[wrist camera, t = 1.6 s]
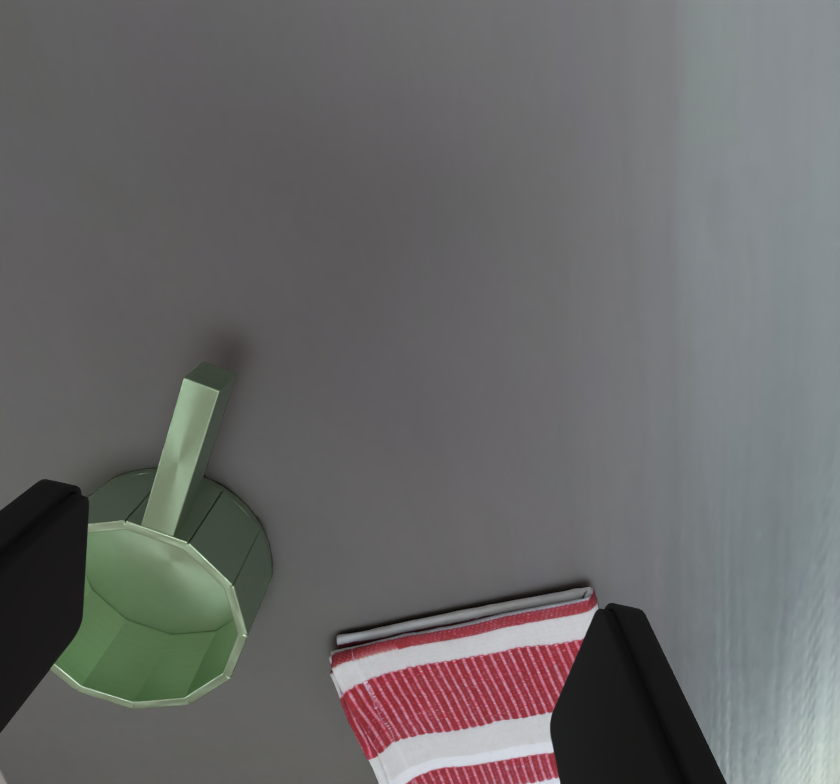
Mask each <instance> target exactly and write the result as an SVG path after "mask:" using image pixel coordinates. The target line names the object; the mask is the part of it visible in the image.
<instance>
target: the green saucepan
mask: <svg viewBox="0 0 840 784" xmlns="http://www.w3.org/2000/svg"><path fill="white" fill-rule="evenodd" d="M235 377H236V373H233V372H230V371H228V370H225V369H223V368H220V367H217V366H215V365H212V364H210V363H207V362H203V363H202V364H200V365H199V366H198V367H197V368H196V369H194V370H193V371H192V372H191V373H189V374H188V375H187V376H186V377H185V378H184V380H183V383H182V387H181V390H180V393H179V397H178V400H177V404H176V407H175V411H174V414H173V417H172V421H171V424H170V428H169V431H168V435H167V438H166V441H165V445H164V448H163V452H162V455H161V459H160V462H159V465H158V468H153V469H143V470H137V471H132V472H129V473H126V474H123V475H120V476H117V477H115V478H113V479H111V480H110V481H109V482H107V483H106V484H104V485H103V486H101V487H100V488H99V489H98V490H97V491H96V492H95V493H93V494H92V495H91V496H90V497H88V500H89V519H88V536H87V554H86V571H85V589H84V607H83V618H82V622H81V626H80V628H79V630H78V632H77V634H76V636H75V637H74V639H73V640H72V642H71V643H70V644H69V645H68V647H67V648H66V649H65V651H64V652H63V653H62V654H61V656H60V657H59V658H58V660H57V661H56V662H55V663H54V665H53V666H52V667H51V669H50V670H51V671H53V672H54V673H55V674H56V675H57V676H59V677H60V678H61V679H62V680H64V681H65V682H66V683H67V684H69V685H70V686H71V687H72V688H73V689H75V690H76V691H77V690H79V692H80V693H83V694H87V695H90V696H93V697H96V698H99V699H103V700H106V701H109V702H112V703H116V704H119V705H122V706H125V707H128V708H132V709H133V708H135V709H142V708H154V707H166V706H178V705H188V704H191V703H192V702H194V701H196V700H197V699H199V698H200V697H202V696H203V695H205V694H207V693H208V692H210V691H211V690H213V689H215V688H216V687H218V686H219V685H221V684H222V683H224V682H226V681H227V680H229V679H230V677H232V674H233V672H234V669H235V667H236V664H237V662H238V659H239V657H240V654H241V652H242V649H243V647H244V644H245V642H246V639H247V637H248V634H249V632H250V629H251V627H252V624H253V622H254V619H255V617H256V614H257V612H258V609H259V607H260V604H261V602H262V599H263V597H264V594H265V592H266V589H267V587H268V584H269V582H270V579H271V576H272V570H271V568H272V564H271V552H270V546H269V543H268V540H267V537H266V534H265V532H264V530H263V528H262V526H261V524H260V523H259V521H258V520H257V518H256V517H255V515H254V514H253V512H252V511H251V510H250V509H249V508H248V507H247V506H246V504H245V503H243V502H242V501H241V500H240V499H239V498H238V497H237V496H236V495H234V494H233V493H232V492H230V491H229V490H227V489H226V488H225V487H223V486H221V485H219V484H218V483H216V482H214V481H212V480H210V479H207V478H205V477H203V476H204V473H205V470H206V467H207V464H208V461H209V458H210V455H211V451H212V448H213V445H214V442H215V439H216V436H217V433H218V430H219V427H220V424H221V421H222V418H223V414H224V411H225V408H226V405H227V402H228V399H229V396H230V393H231V390H232V387H233V384H234V381H235Z"/></svg>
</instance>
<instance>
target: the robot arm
mask: <svg viewBox="0 0 840 784" xmlns="http://www.w3.org/2000/svg"><path fill="white" fill-rule="evenodd" d="M88 519H89V500H88V498H87V497H85V496H81V490H80V488H79V487H78V486H75V485H70V484H66V483H61V482H56V481H52V480H47V479H43V480H40V481H39V482H37V483H36V484H34V485H33V486H32V487H31V488H29V489H28V490H27V491H25V492H24V493H23V494H21V495H20V496H19V497H18V498H16V499H15V500H14V501H12V502H11V503H10V504H9V505H7V506H6V507H5V508H3V509H2V510H1V511H0V733H1V731H2V730H3V729H4V728H5V726H6V725H7V724H8V722H9V721H10V720H11V719H12V717H13V716H14V715H15V713H16V712H17V711H18V710H19V708H20V707H21V706H22V704H23V703H24V702H25V701H26V699H27V698H28V697H29V695H30V694H31V693H32V692H33V690H34V689H35V688H36V686H37V685H38V684H39V683H40V681H41V680H42V679H43V678H44V676H45V675H46V674H47V672H48V671H49V670H50V669H51V667H52V666H53V665H54V663H55V662H56V661H57V660H58V658H59V657H60V656H61V654H62V653H63V652H64V651H65V649H66V648H67V647H68V645H69V644H70V643H71V642H72V640H73V639H74V637H75V636H76V634H77V632H78V630H79V628H80V626H81V622H82V618H83V607H84V589H85V571H86V554H87V536H88ZM550 736H551V741H552V746H553V751H554V755H555V760H556V765H557V770H558V775H559V780H560V784H726V781H725V779H724V777H723V775H722V773H721V771H720V769H719V767H718V765H717V763H716V761H715V759H714V756H713V754H712V752H711V750H710V748H709V746H708V744H707V742H706V740H705V738H704V736H703V734H702V731H701V729H700V727H699V725H698V723H697V721H696V719H695V717H694V715H693V713H692V711H691V709H690V706H689V705H688V703H687V701H686V698H685V696H684V694H683V692H682V690H681V688H680V686H679V684H678V682H677V680H676V678H675V676H674V673H673V671H672V669H671V667H670V665H669V663H668V661H667V659H666V657H665V655H664V653H663V651H662V648H661V646H660V644H659V642H658V640H657V638H656V636H655V634H654V632H653V630H652V628H651V626H650V623H649V621H648V619H647V617H646V615H645V614H644V612H643V611H642V610H640V609H637V608H633V607H628V606H623V605H619V604H614V603H610V604H608V605H607V606H606V607H605V609H598V610H597V611H596V612H595V614H594V616H593V618H592V621H591V623H590V625H589V628H588V630H587V632H586V635H585V637H584V639H583V642H582V644H581V646H580V649H579V651H578V653H577V656H576V658H575V660H574V663H573V665H572V668H571V670H570V672H569V675H568V677H567V679H566V682H565V684H564V686H563V689H562V691H561V693H560V696H559V698H558V700H557V703H556V705H555V707H554V710H553V712H552V715H551V720H550Z"/></svg>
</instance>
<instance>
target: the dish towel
mask: <svg viewBox="0 0 840 784" xmlns="http://www.w3.org/2000/svg"><path fill="white" fill-rule="evenodd" d="M597 610H598V603H597V598H596V595H595V592H594V590H593V588H591V587H585V588H575V589H571V590H567V591H563V592H558V593H550V594H546V595H540V596H535V597H529V598H524V599H518V600H512V601H507V602H502V603H497V604H489V605H486V606H482V607H477V608H470V609H464V610H459V611H454V612H450V613H446V614H441V615H436V616H430V617H426V618H421V619H416V620H410V621H406V622H402V623H397V624H392V625H388V626H383V627H378V628H374V629H371V630H367V631H362V632H356V633H349V634H340V635H337V646H338V650H333V651H331V652H330V654H331V656H330V657H329V660H330V663H331V668H332V670H331V674H330V676H331V678H332V680H333V682H334V684H335V687H336V689H337V692H338V694H339V697H340V701H341V704H342V707H343V709H344V712H345V715H346V716H347V720H348V722H349V724H350V725H351V727H352V729H353V731H354V733H355V736H356V738H357V740H358V742H359V743H360V746H361V748H362V750H363V752H364V754H365V756H366V758H367V759H368V760H369V762H370V764H371V766H372V768H373V770H374V773H375V776H376V778H377V780H378V782H379V784H560V780H559V775H558V770H557V765H556V760H555V755H554V751H553V746H552V741H551V736H550V720H551V715H552V712H553V710H554V707H555V705H556V703H557V700H558V698H559V696H560V693H561V691H562V689H563V686H564V684H565V682H566V679H567V677H568V675H569V672H570V670H571V668H572V665H573V663H574V660H575V658H576V656H577V653H578V651H579V649H580V646H581V644H582V642H583V639H584V637H585V635H586V632H587V630H588V628H589V625H590V623H591V621H592V618H593V616H594V614H595V612H596V611H597Z"/></svg>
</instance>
